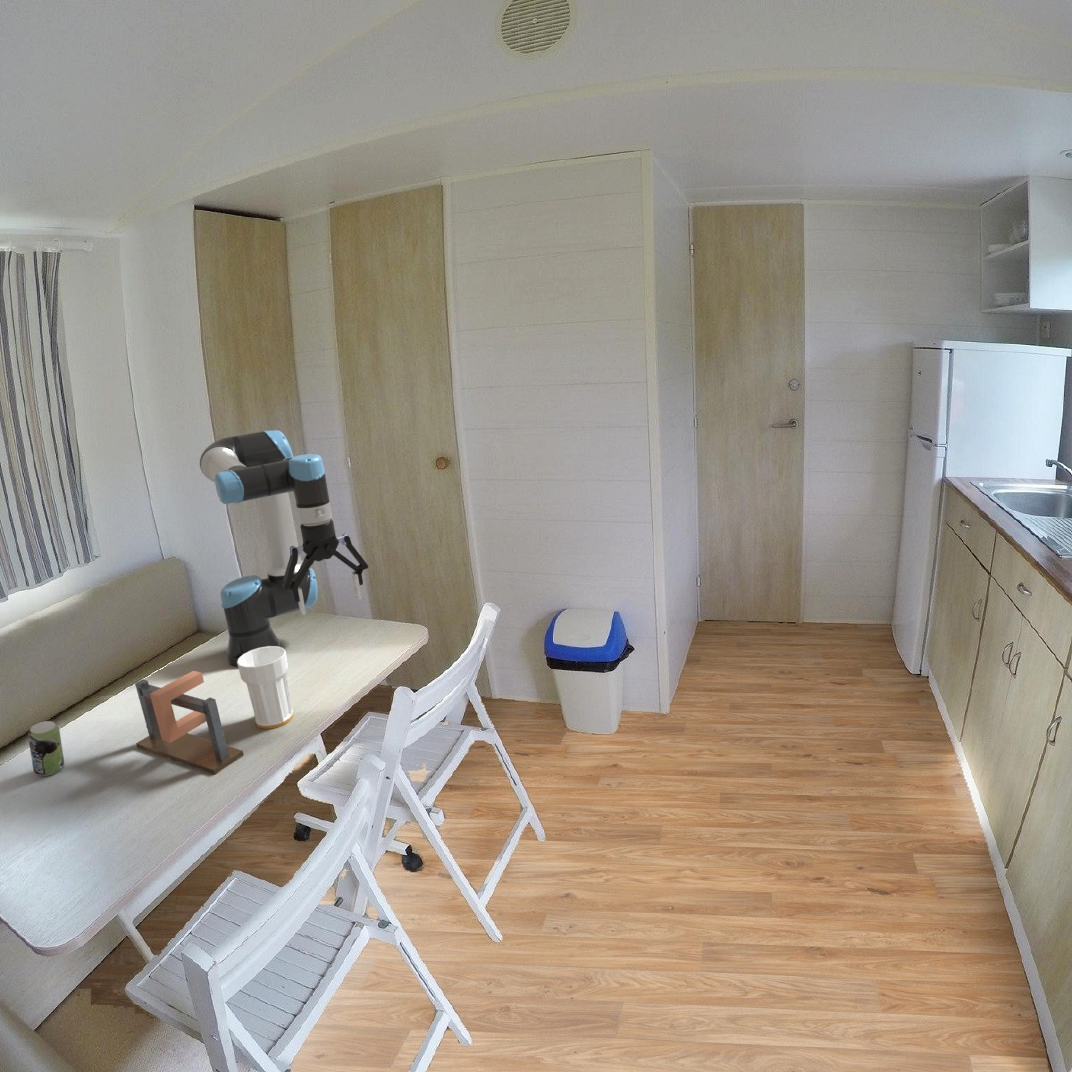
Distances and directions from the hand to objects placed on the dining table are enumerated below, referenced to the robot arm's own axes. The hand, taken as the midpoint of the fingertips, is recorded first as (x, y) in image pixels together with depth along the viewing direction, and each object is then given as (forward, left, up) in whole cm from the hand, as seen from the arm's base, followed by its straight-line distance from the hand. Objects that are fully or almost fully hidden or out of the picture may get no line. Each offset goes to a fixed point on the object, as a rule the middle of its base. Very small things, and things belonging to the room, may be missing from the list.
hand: (331, 605), depth 185 cm
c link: (-6, -36, -22) cm, 43 cm away
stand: (-5, -37, -28) cm, 47 cm away
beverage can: (-17, -65, -28) cm, 73 cm away
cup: (-7, -17, -28) cm, 34 cm away
